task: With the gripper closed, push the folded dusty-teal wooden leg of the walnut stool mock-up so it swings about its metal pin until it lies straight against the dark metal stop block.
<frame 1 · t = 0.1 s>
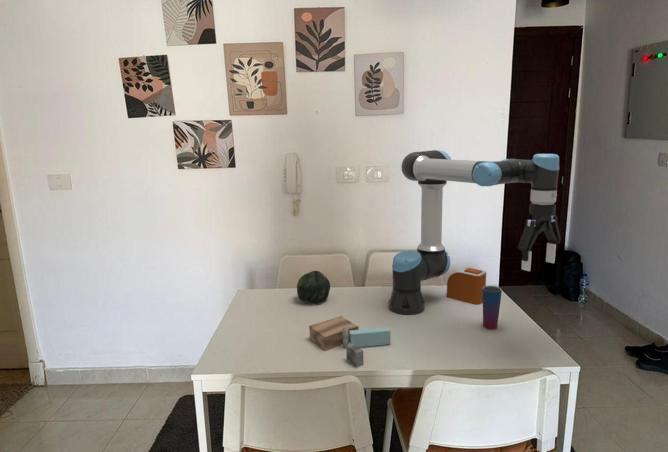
hand: (538, 266, 143), 28 cm above the table, fingers open, 13 cm apart
squash: (314, 300, 194), on the table
cup: (490, 326, 163), on the table
brown toaster: (466, 298, 191), on the table
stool: (345, 346, 151), on the table
leg: (369, 337, 151), point 3 cm above the table, hinge at 65.0°
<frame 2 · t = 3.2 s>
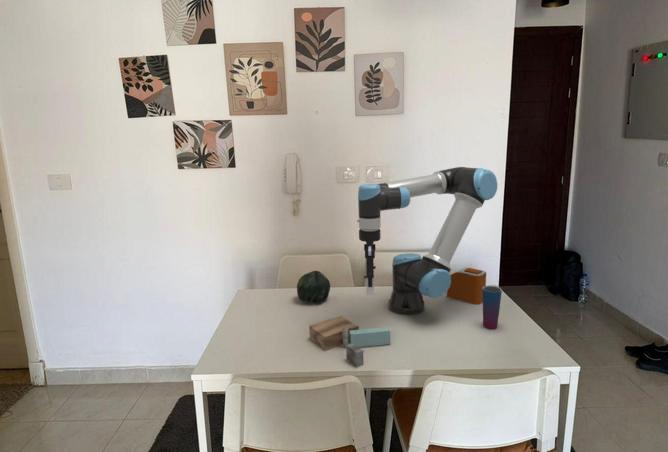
hand: (370, 290, 156), 17 cm above the table, fingers open, 8 cm apart
nothing on the table moved.
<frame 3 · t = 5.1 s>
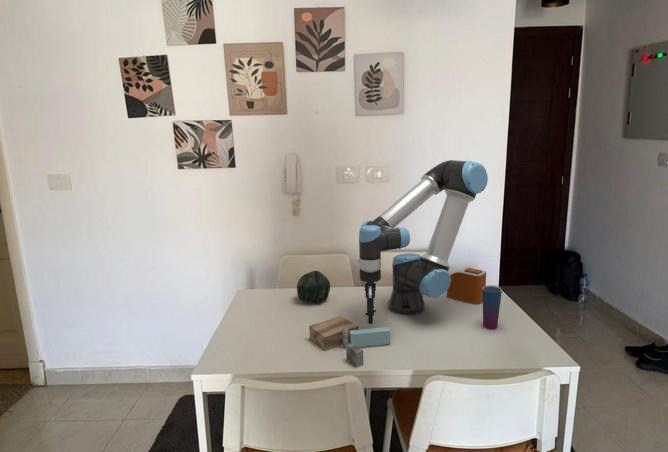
hand: (370, 330, 159), 2 cm above the table, fingers closed
nothing on the table moved.
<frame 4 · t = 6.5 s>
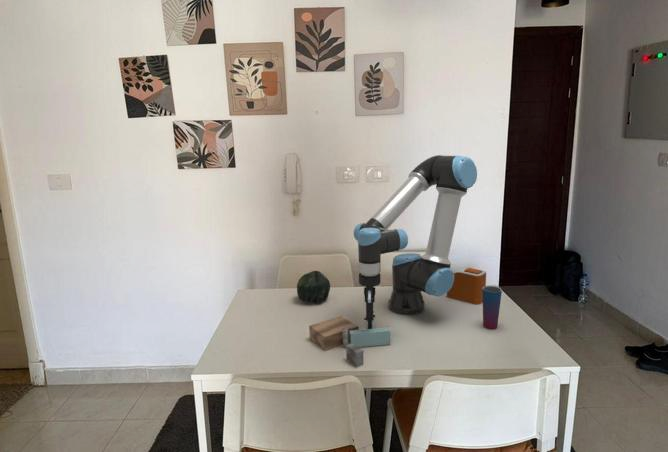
hand: (370, 335, 155), 2 cm above the table, fingers closed
leg: (369, 337, 151), point 3 cm above the table, hinge at 64.6°, touching gripper
everything else where it was.
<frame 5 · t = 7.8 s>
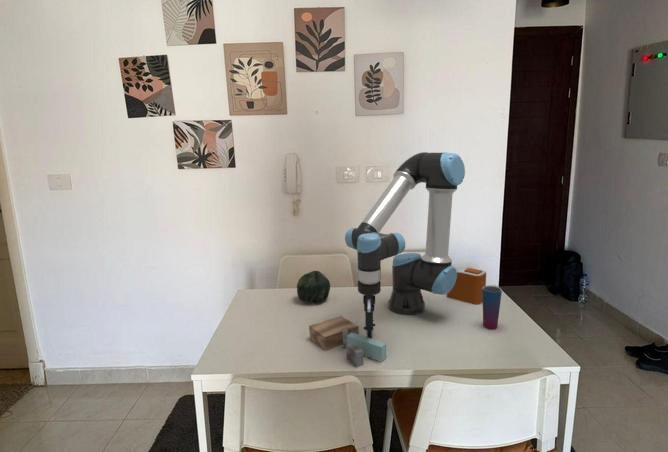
hand: (369, 345, 148), 2 cm above the table, fingers closed
leg: (366, 346, 145), point 3 cm above the table, hinge at 19.0°, touching gripper
everything else where it was.
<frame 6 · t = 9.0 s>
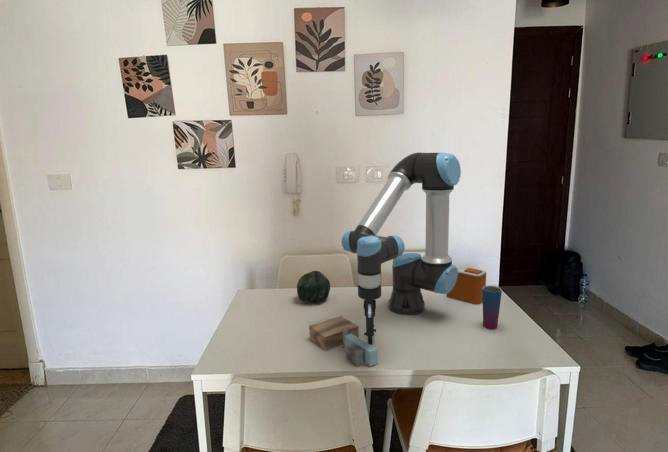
hand: (370, 351, 144), 1 cm above the table, fingers closed
leg: (360, 349, 143), point 3 cm above the table, hinge at 0.9°, touching gripper
everything else where it was.
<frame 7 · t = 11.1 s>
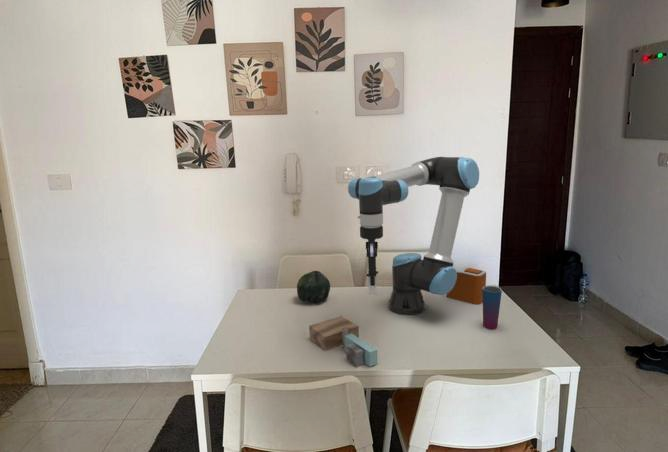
hand: (372, 293, 147), 20 cm above the table, fingers closed
leg: (360, 349, 143), point 3 cm above the table, hinge at 0.7°
everything else where it was.
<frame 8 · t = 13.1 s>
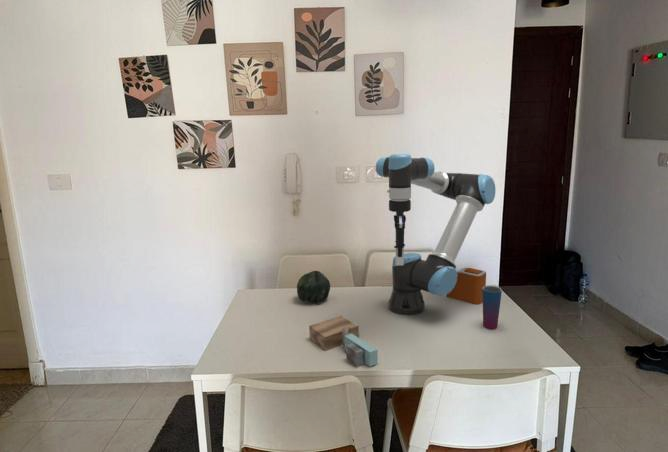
hand: (399, 264, 154), 26 cm above the table, fingers closed
nothing on the table moved.
at the end: leg at +1° (first picture: +65°); leg touching nothing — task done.
